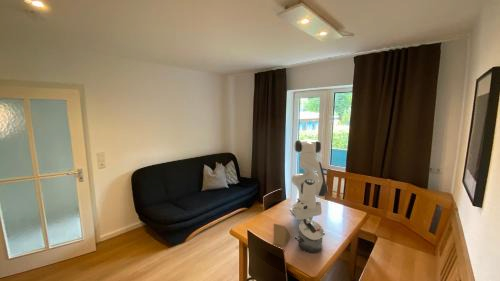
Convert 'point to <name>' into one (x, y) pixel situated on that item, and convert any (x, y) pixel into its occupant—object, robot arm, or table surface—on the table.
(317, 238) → the lid
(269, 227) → the table surface
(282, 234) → the sandwich container
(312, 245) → the cooker pot
